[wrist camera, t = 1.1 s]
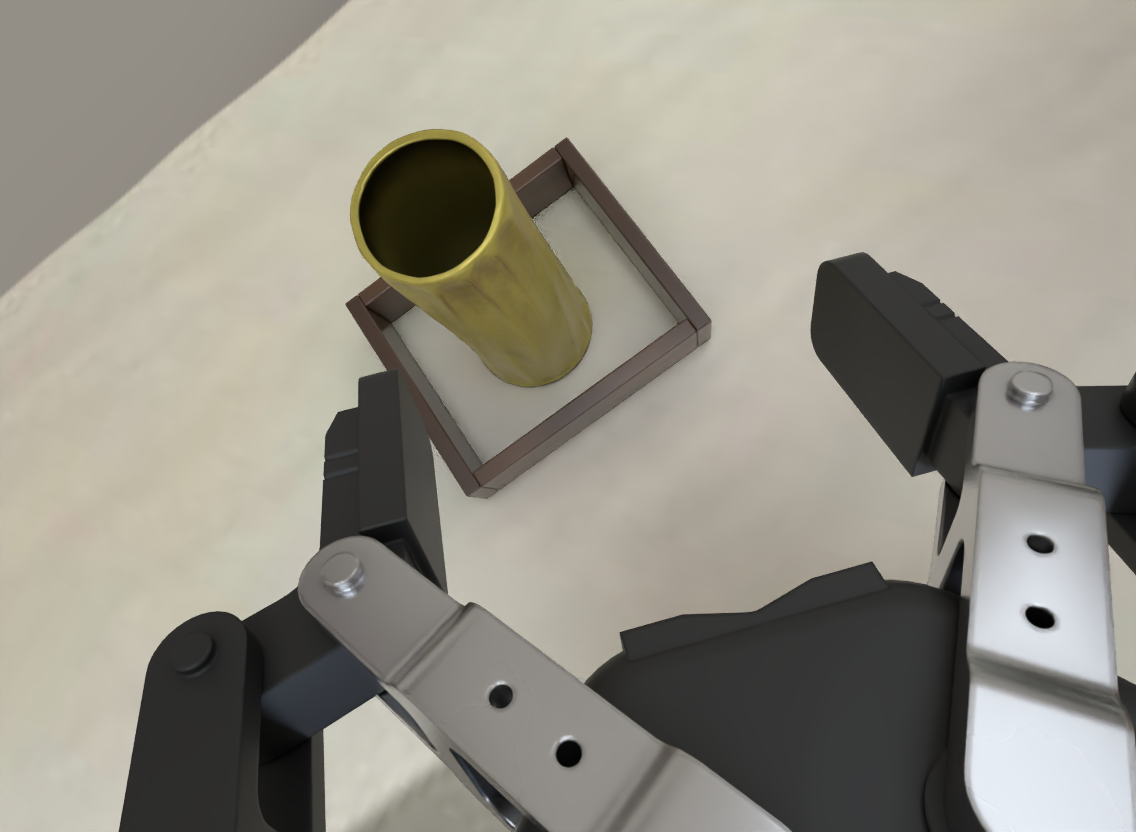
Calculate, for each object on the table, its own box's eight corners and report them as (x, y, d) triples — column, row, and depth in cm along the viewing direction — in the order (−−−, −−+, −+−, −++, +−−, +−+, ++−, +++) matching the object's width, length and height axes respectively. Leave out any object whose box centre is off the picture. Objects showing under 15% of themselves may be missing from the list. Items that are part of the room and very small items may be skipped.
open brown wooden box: (577, 166, 36) (566, 135, 34) (711, 338, 34) (712, 320, 31) (372, 320, 37) (344, 303, 34) (486, 499, 35) (466, 497, 32)
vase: (521, 412, 35) (403, 338, 21) (453, 322, 36) (300, 199, 23) (616, 335, 35) (559, 209, 21) (544, 248, 36) (445, 76, 22)
